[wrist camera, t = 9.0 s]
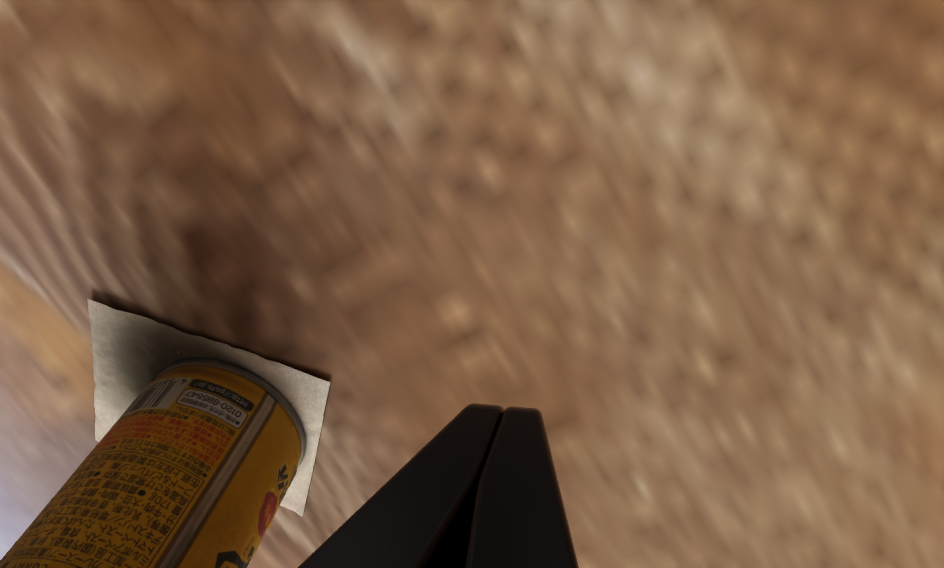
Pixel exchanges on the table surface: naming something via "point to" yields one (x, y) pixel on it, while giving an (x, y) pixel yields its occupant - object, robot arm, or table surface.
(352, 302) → the table surface
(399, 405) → the table surface
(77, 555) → the condiment
